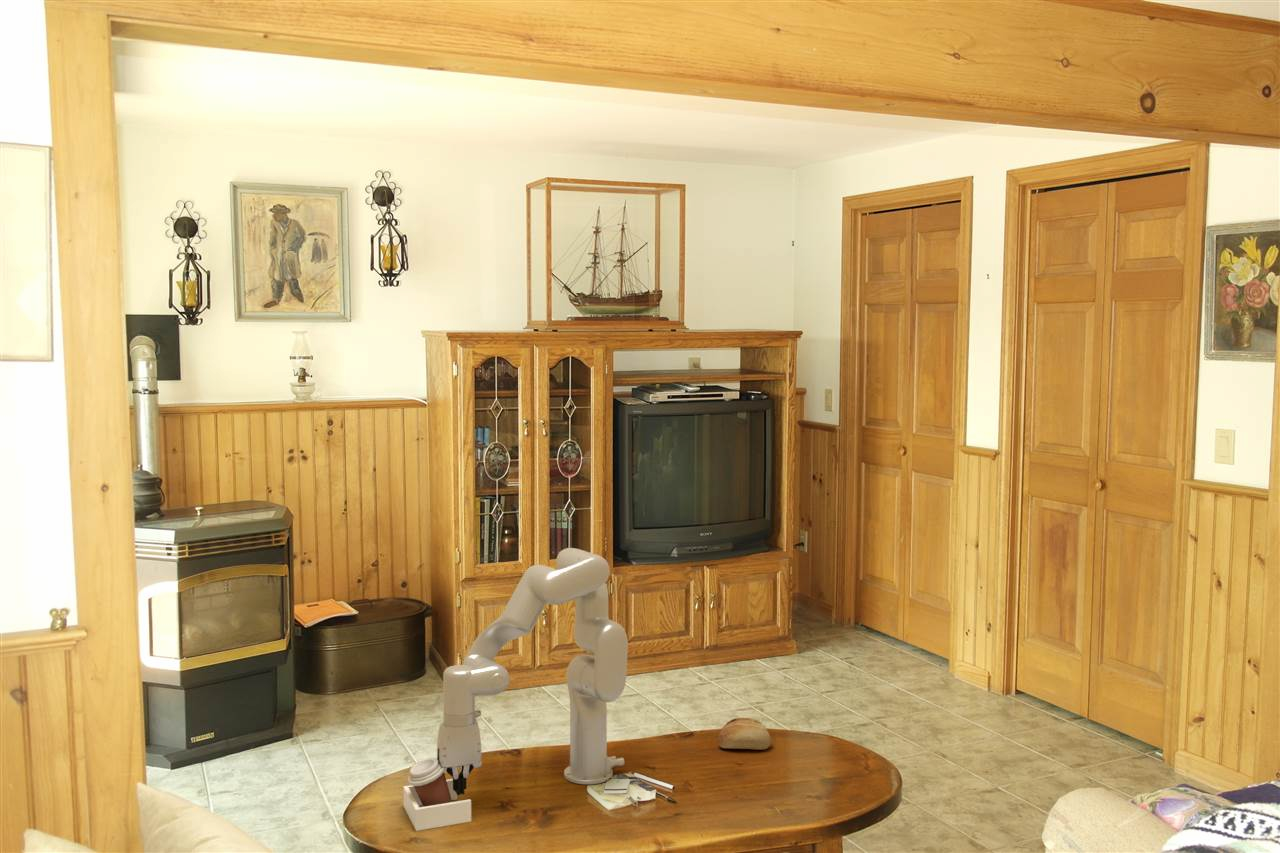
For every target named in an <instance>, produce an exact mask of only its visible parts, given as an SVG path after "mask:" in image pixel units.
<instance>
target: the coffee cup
mask: <svg viewBox="0 0 1280 853" xmlns="http://www.w3.org/2000/svg"><path fill="white" fill-rule="evenodd" d="M444 771H445V768H444V767H441V764H439V761H438V760H437V757H436V758H435V757H427V758H424V759H421V760H420V761H417V762H416V763H415V764H413V765H412V767H410V769H409V775H408V777H407V782H408V784H409V785H412V786H414V788H415V790H416V792H417V794H418V796H419V798H420V801H421V803H422V805H421V806H422V807H426V806H432V805H438V804H444V803H450V802H453V800H452V799H451V796H450V792H449V788H448V785H447V781H446V780H447V778H446V773H444Z"/></svg>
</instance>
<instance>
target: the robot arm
mask: <svg viewBox="0 0 1280 853" xmlns="http://www.w3.org/2000/svg"><path fill="white" fill-rule="evenodd" d="M555 563H556V568H554V567H551V566H547V565H544V564H534V565H531V566H530V567H528V568H527V569H526V570H525V571H524V573H523V575H522V577H521V578H520V580H519V582H518V584H517V586H516V588H515V589H514V592H513V593H512V595H511V597H510V599H509V600H508V602H507V605H506V606H505V608H504V610H503V612H502V613H501V614H500V616H499V617H497V619H496V620H494V621H493V622H492V623H490V624H489V625H488V626H487V627H486V628H485V629H484V630H483V631H482V632H481V633H480V634H479V635H478V636H476V638H475V639H474V641H473V643H472V644H471V646H470V648H469V650H468V652H467V653H466V656H465V658H464V660H463V664H455V665H451V666H448V667H446V668H445V669H444V671H443V674H442V682H443V684H442V685H443V687H442V688H443V691H442V694H443V697H442V698H443V700H442V703H443V705H442V706H443V709H442V712H443V714H442V715H443V716H442V717H443V718H442V719H443V722H441V723H440V724H439V728H438V732H437V744H436V759H437V760H438V761H439V764H441V767H444V768H445V771H444V774H446V773H447V774H448V775H450V776H451V777H452V779H453V790H454V791H455V792H456V793H457V796H460V795H465V790H467V778H468V777H469V774H470V773H472V771H473V770H474V769H477V768H479V767H481V766H482V765H483V762H482V752H483V751H482V740H481V733H480V727H479V723H478V720H477V718H478V717H481V716H482V710H476V697H479V696H481V697H483V696H485V697H486V696H490V697H491V696H497V695H499V694H501V693H503V692H504V691H506V689H507V688H508V686H509V684H510V679H511V678H510V674H509V672H508V670H507V669H506V668H505V667H504V666H502V665H501V664H498V663H497V662H495V661H494V660H495V659H496V656H497V655H498V653H499V652H500V651H501V649H502V648H503V647H504V646H506V645H507V644H508V643H509V642H511V641H513V640H515V639H519V638H521V637H524V636H527V635H529V634H530V633H532V631H533V630H534V628H535V626H536V624H537V622H538V620H540V619H539V618H540V617H541V615H542V614H543V611H544V609H545V607H546V606H547V604H549V605H552V606H558V605H563V604H566V603H568V602H571V601H575V611H574V627H573V628H574V629H573V639H574V643H575V644H576V646H577V647H578V648H579V649H581V650H583V651H585V652H587V653H590V654H579V655H577V656H575V657H574V658H573V659H571V661H570V662H569V663H568V666H567V669H566V684H567V689H568V696H569V697H568V698H569V742H570V743H569V748H570V749H569V756H570V757H569V765H568V766H567V767H565V769H564V771H563V776H564V778H565V780H567V781H569V782H570V783H573V784H577V785H578V784H579V785H596V784H603V783H605V782H607V781H609V780H610V779H611V778H612V777H613V776H614V775H613V772H614V770H613V768H614V767H619V766H620V767H621V766H625V759H624V757H618V758H617V756H616V755H612V756H608V755H607V752H608V751H607V748H608V747H607V746H608V745H607V742H608V741H607V738H608V735H607V733H608V732H607V731H608V728H607V727H608V726H607V725H608V724H607V723H608V721H607V720H608V718H607V717H608V711H607V710H608V708H607V703H612V702H614V701H616V700H618V699H619V698H620V697H621V695H622V694H623V692H624V690H625V686H626V683H627V682H626V681H627V669H628V668H627V667H628V653H629V651H628V650H629V641H628V636H627V633H626V631H625V630H626V629H625V628H624V627H623V626H622V625H621V624H620V623H618V622H616V621H614V620H612V619H610V617H609V591H608V586H607V584H606V582H607V581H608V579H609V577H610V572H611V570H610V569H611V568H610V565H609V563H608V561H607V560H606V558H604V557H602V556H601V555H598V554H595V553H594V552H593V553H592V552H589V551H587V550H583V549H579V548H574V547H567V548H564V549H562V550H560V552H558V554H557V557H556V562H555ZM458 767H460V772H459V770H458ZM609 778H610V779H609ZM608 779H609V780H608ZM606 780H607V781H606Z"/></svg>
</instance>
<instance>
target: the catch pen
mask: <svg viewBox="0 0 1280 853" xmlns="http://www.w3.org/2000/svg"><path fill="white" fill-rule="evenodd" d="M446 781H447V785H448V788H449V792H450V796H451V799H452V802H450V803H444V804H438V805H432V806H426V807H423V805H422V803H421V801H420V798H419V796H418V794H417V792H416V790H415V788H414V786H412V785H410V784H409V785H405V786H404V785H403V808H404V811H405V812H406V814H407V816H408V818H409V820H410V822H411V824H412V825H413V828H414V829H415V831H416V832H417V831H424V830H429V829H435V828H442V827H447V826H453V825H458V824H465V823H469V822H472V800H471V799H464V800H463V799H462V800H458V795H457V793H456V792H455V791H454V790H453V778H449V779H446ZM456 800H457V801H456ZM420 806H421V807H420Z"/></svg>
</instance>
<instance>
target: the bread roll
mask: <svg viewBox="0 0 1280 853" xmlns="http://www.w3.org/2000/svg"><path fill="white" fill-rule="evenodd" d="M716 739H717V744H718V746H719V747H720V748H722V749H735V750H737V749H738V750H758V751H759V750H762V751H763V750H768V748H769V747H770V746H771V744H772V738H771V735H770V733H769V731H768V729H767V728H766V726H765V725H764V724H763V723H762V722H761V721H759V720H757V719H755V718H751V717H750V718H749V717H738V718H737V717H736V718H732V719H730V720H729V721H727V722H726V724H725V725H724V726H723V727H722V728H721V729H720V732H719V734H718V736H717V738H716Z"/></svg>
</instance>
